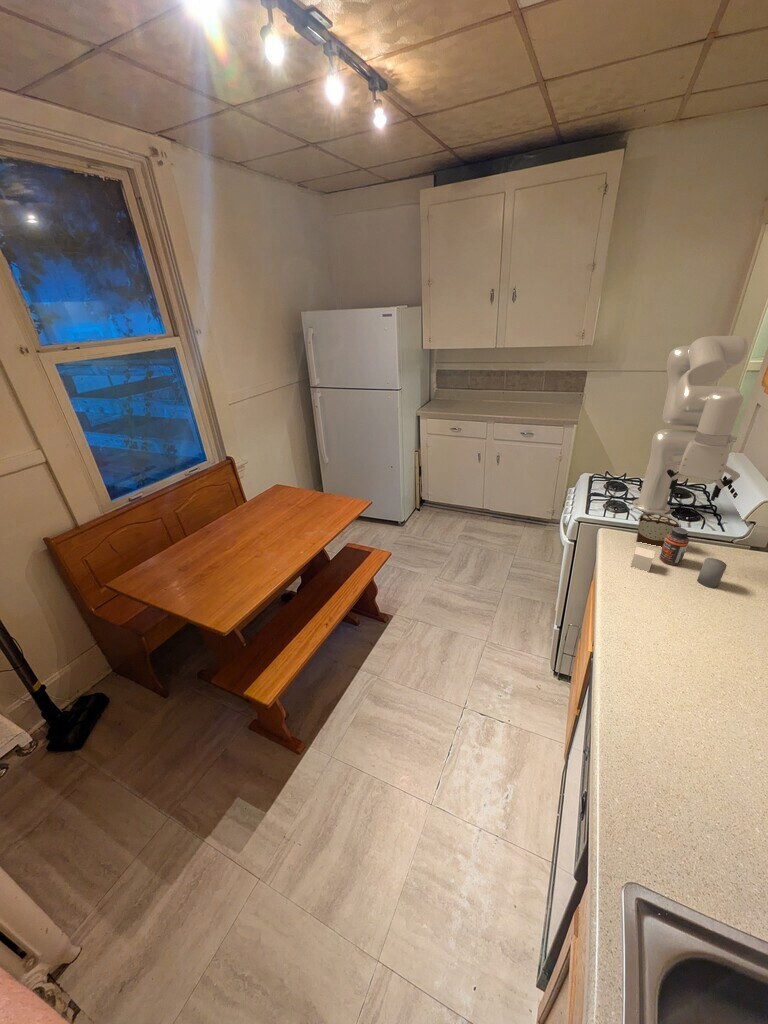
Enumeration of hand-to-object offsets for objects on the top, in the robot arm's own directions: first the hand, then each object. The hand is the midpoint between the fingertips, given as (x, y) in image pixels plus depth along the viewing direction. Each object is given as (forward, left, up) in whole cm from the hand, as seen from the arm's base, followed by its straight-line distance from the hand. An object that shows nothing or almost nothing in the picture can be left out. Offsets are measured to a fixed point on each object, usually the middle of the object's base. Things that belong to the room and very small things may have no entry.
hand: (692, 495), depth 118 cm
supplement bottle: (0, 0, -23) cm, 23 cm away
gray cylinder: (+7, +10, -23) cm, 26 cm away
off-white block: (+8, -7, -23) cm, 25 cm away
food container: (-10, -6, -23) cm, 26 cm away
